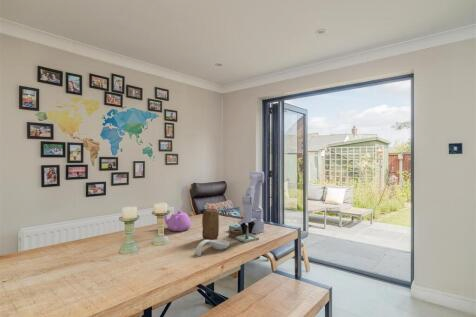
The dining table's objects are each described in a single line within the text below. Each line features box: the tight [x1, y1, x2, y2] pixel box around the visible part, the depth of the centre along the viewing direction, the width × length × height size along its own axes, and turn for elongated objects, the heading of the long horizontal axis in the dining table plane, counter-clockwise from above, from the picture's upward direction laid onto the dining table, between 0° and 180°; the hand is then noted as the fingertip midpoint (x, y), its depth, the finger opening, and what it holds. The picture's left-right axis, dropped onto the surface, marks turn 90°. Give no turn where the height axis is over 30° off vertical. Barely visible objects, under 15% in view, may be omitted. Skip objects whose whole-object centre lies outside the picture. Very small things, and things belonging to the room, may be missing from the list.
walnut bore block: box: [228, 228, 244, 239], centre depth 184 cm, size 7×7×4 cm
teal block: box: [228, 223, 242, 231], centre depth 196 cm, size 7×7×4 cm
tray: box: [235, 233, 260, 244], centre depth 178 cm, size 12×9×2 cm
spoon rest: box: [194, 239, 231, 257], centre depth 156 cm, size 24×12×7 cm, turn 138°
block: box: [201, 208, 220, 240], centre depth 174 cm, size 11×8×20 cm
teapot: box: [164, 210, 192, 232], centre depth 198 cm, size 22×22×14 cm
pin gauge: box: [245, 225, 250, 239], centre depth 178 cm, size 2×2×8 cm
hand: (247, 233), depth 178 cm, fingers open, 4 cm apart
